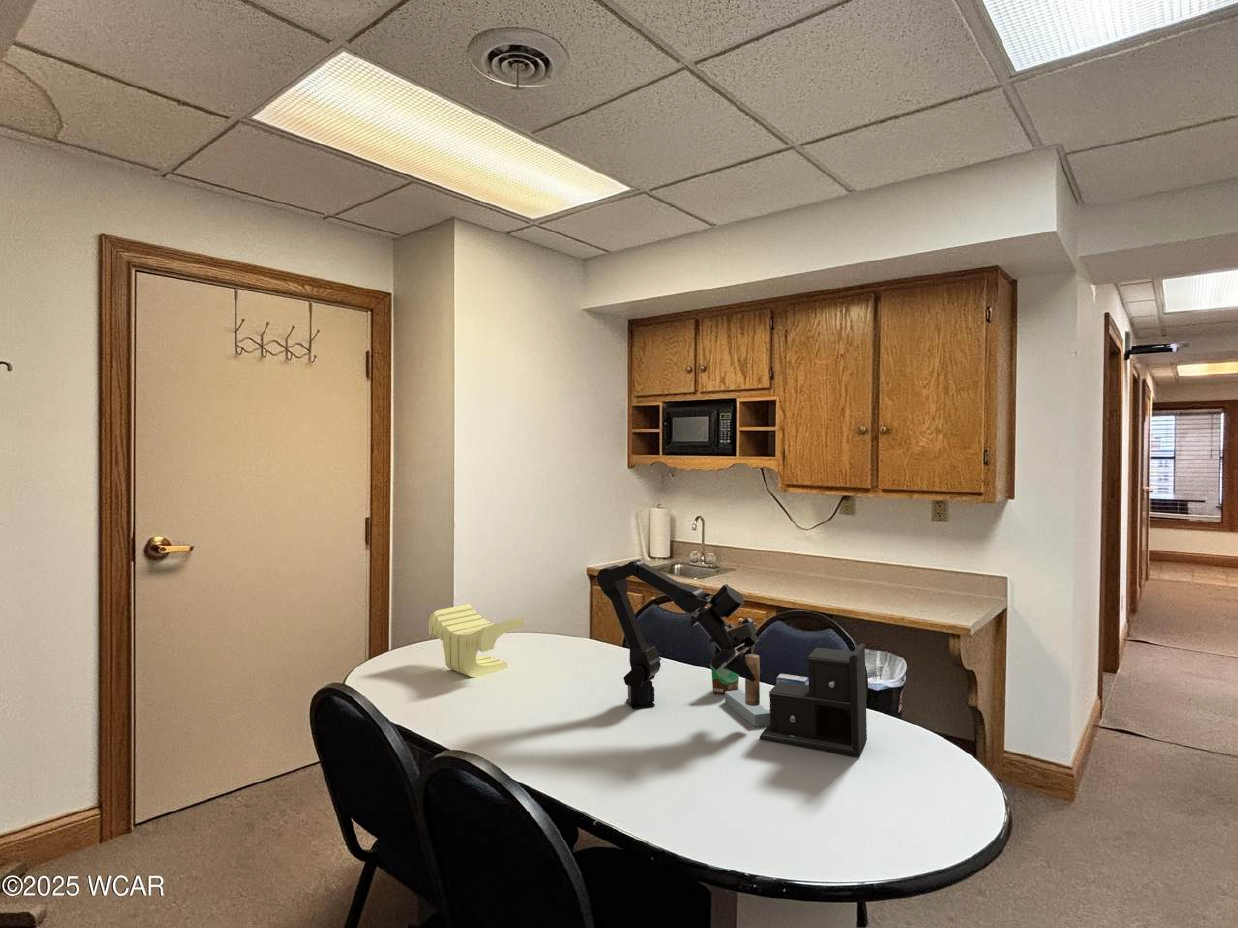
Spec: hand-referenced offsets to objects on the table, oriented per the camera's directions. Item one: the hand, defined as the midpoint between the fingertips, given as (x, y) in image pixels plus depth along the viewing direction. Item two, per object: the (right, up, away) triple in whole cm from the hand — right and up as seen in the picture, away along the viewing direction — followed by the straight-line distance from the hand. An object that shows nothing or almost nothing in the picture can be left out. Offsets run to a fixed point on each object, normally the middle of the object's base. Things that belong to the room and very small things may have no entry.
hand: (757, 678), depth 178 cm
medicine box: (+12, -12, +13) cm, 21 cm away
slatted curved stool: (-81, -13, +51) cm, 96 cm away
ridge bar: (-1, -12, +10) cm, 16 cm away
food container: (-3, -12, +27) cm, 30 cm away
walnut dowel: (-1, -7, +1) cm, 7 cm away
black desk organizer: (+12, -13, -8) cm, 19 cm away
